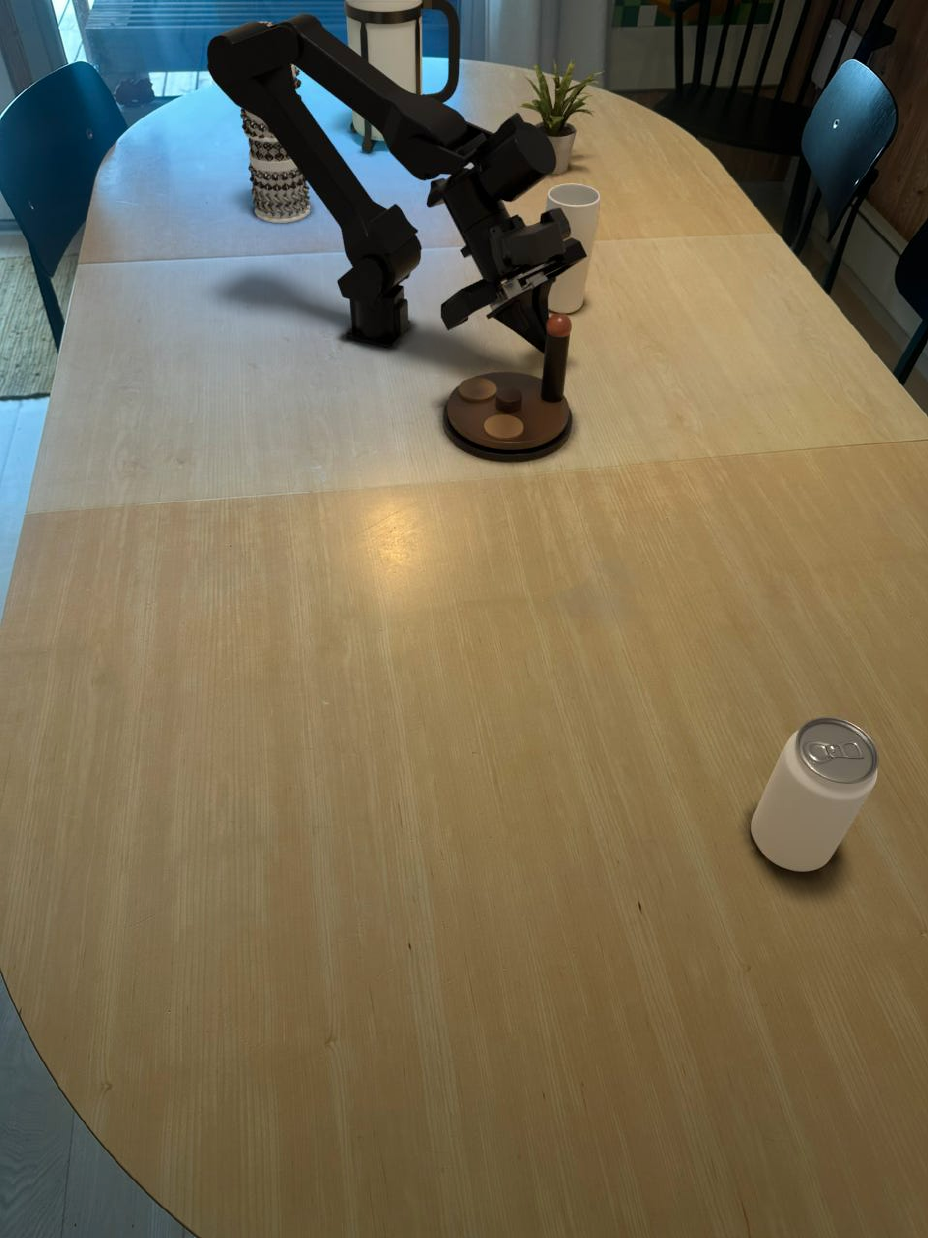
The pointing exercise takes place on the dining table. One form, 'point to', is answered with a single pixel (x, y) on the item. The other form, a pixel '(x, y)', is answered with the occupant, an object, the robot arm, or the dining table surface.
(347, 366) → the dining table surface
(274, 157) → the decorative candle
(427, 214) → the dining table surface
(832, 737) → the can
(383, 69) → the coffee press
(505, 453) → the base
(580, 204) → the drinking glass
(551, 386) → the turntable with crank handle
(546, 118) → the house plant
